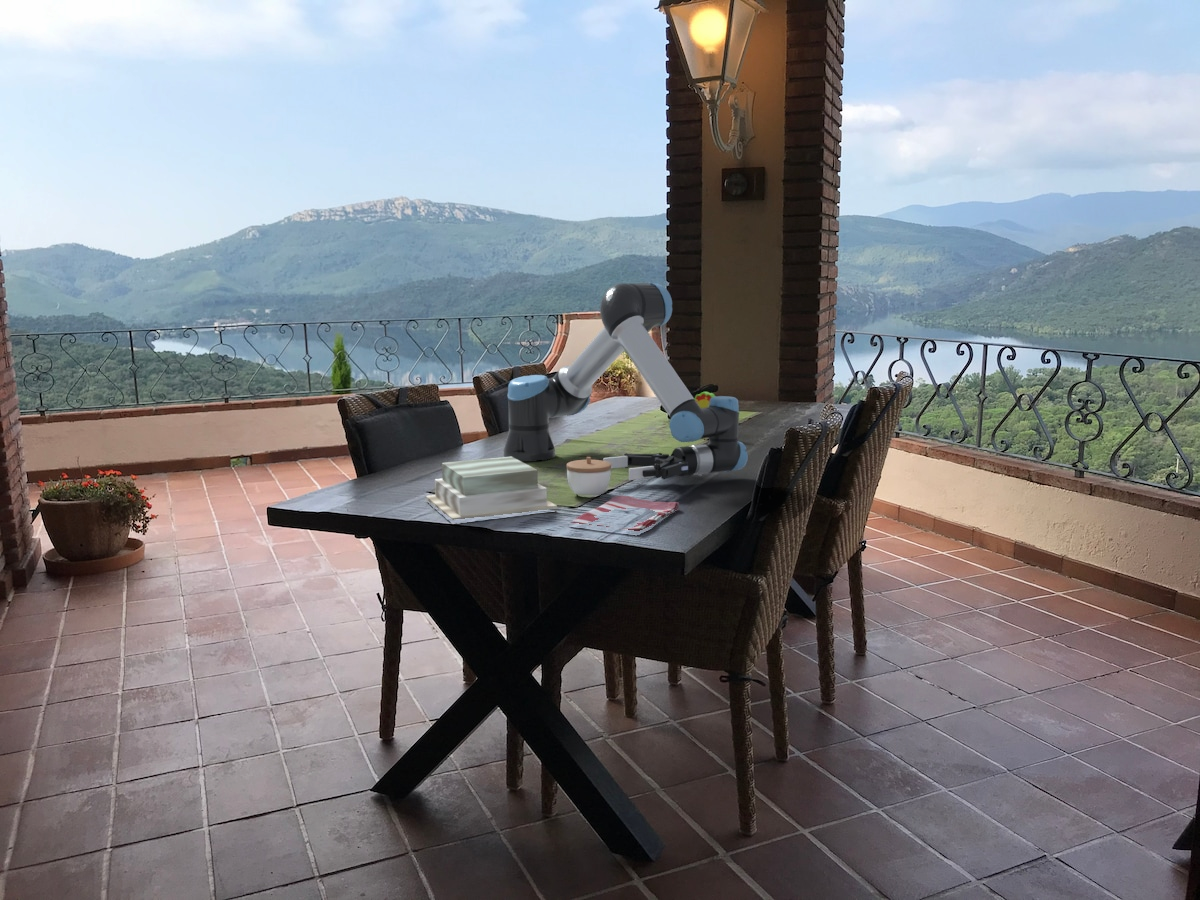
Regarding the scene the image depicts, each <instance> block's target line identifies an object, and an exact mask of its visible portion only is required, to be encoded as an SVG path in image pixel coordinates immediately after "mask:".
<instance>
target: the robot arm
mask: <svg viewBox="0 0 1200 900" xmlns="http://www.w3.org/2000/svg"><path fill="white" fill-rule="evenodd" d="M599 305H600V306H599V312H600V319H601V321H602V324H603V326H604V327H603V328H602V329H601V330H600V331H599V332H598V333H597V334H596V336H595V337H594V338H593V339H592V341H590V342H589V344H588V345H587V346H586V347H585V348H584V349H583V351H582V352H581V353H580V354H579V355H578V356H577V358H576V359H574V360H573V362H572V363H571V364H570V365H564V366H562V367H561V368H560V369H559V370H558V371H557V372H556V373H555V375H554V376H552V377H550V378H548V376H546V375H544V374H543V375H542V374H531V375H523V376H519V377H516V378H513V379H511V380H510V382H509V383H508V387H507V388H508V389H507V395H506V396H507V401H508V403H507V405H508V408H507V409H508V434H507V437H506V440H505V443H504V446H503V452H502V453H503V457H510V456H512V457H513V458H515V459H517V460H519V461H521V462H536V461H535V460H542V461H547V459H548V460H550V459H554V458H556V447H555V444H554V441H553V439H552V435H551V433H550V425H549V424H550V422H549V421H550V419H552V418H558V417H564V416H565V417H566V416H567V417H568V416H574V415H577V414H579V413H582V412H583V411H585V410H586V409H587V408H588V406H589V405H590V402H591V398H590V397H591V396H592V391H593V387H592V386H593V384H594V383H595V382H596V381H598V379H599V378H600V377H601V376H602V375H603V374H604V373H605V372H606V371H607V369H608V368H610V366H611V365H613V363H614V362H615V361H616V360H617V359H618V358H619V357H620V355H621V354H622V353H623V352H624V351H625V353H626V355H627V356H628V357H629V359H630V361H632V363H633V365H634V366H635V368H636V369H637V371H638V372H639V373H640V375H641V376H642V379H644V381H645V382H646V384H647V385H648V387H649V388H650V390H651V392H653V394H654V395H655V397H656V399H657V400H658V401H659V403H660V405H661V406H662V408H663V409H664V411H665V412H666V413H667V414H668V416H669V417H670V420H669V430H670V434H671V436H672V437H673V439H675V440H676V441H678V442H679V443H680V442H681V443H689V442H691V443H694V442H697V441H700V440H704V439H703V438H708V437H709V440H708V443H707V444H697V445H696V444H695V445H686V446H678V447H675V448H674V449H673V450H672V451H671V454H668V453H662V452H658V453H627V452H626V453H624V455H620V456H619V455H618V456H609V457H603V459H602V461H607V462H609V463H611V469H619V468H625V469H628V480H629V481H636V480H644V479H653V478H656V479H659V478H661V479H662V480H666V479H668V478H672V477H675V476H677V477H679V478H680V477H681V478H682V477H691V476H698V477H702V476H703V475H707V474H717V473H725V472H726V473H729V472H733V471H738V470H742V469H743V468H745V466H747V465H746V464H747V462H748V458H749V457H748V455H749V453H748V452H747V447H746V445H745V444H744V443H743V442H741V441H739V423H740V421H739V420H740V419H739V417H740V410H739V409H740V408H739V400H738V398H736V397H734V396H729V395H727V396H725V395H724V396H723V395H719V396H718V395H717V396H716V395H715V396H716V397H712V398H711V399H710V402H709V405H708V406H709V407H706V408H700V406H699V405H698V403H697V402H696V401H695V399H694V398H695V397H694V396H693V395H692V394H691V392H690V390H689V389H688V387H687V386H686V385H685V383H684V382H683V381H682V379H681V378H680V377H679V375H678V373H677V372H676V370H675V369H674V367H673V366H672V365H671V363H670V362H669V361H668V359H667V358H666V356H665V355H664V353H663V351H662V350H661V349H660V347H659V346H658V344H657V343H656V342H655V340H654V339H653V337H652V336H651V334H650V331H652V329H653V328H654V327H657V328H659V327H661V326H664V325H665V324H667V323H668V322H669V320H670V319H671V316H672V313H673V300H672V297H671V294H670V292H669V291H668V289H667V288H666V287H665V286H663V285H661V284H660V283H654V282H650V281H649V282H635V283H633V282H632V283H629V282H628V283H627V282H624V283H623V282H621V283H617V284H614V285H612V286H610V288H608V289H607V291H605V293H604V294H603V297H602V298H601V300H600V304H599ZM629 466H631V467H629ZM632 466H633V467H632Z"/></svg>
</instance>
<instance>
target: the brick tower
mask: <svg viewBox="0 0 1200 900" xmlns="http://www.w3.org/2000/svg"><path fill="white" fill-rule="evenodd" d="M441 470H442V477H441V478H435V479H434V494H431V495H429V494H428V495H425V501H426V500H428V501H429V502H430V503H431V504H433V505H434V506H435V507H437V508H438V509H439V510H440V511H442V512H443V513H444V514H446V515H447V516H448V517H450V518H451V519H452V520H454V519H465V518H474V517H485V516H494V515H503V514H512V513H522V512H529V511H538V510H547V509H557V510H558V505H557V504H556V503H553V502H552V501H550V500H548V499H547V498H548V497H547V496H548V495H547V493H548V491H547V489H548V488H547V487H546V486H544V485H542V484H540V483H539V480H538V479H539V476H538V475H539V474H538V469H536V468H534V467H533V466H531V465H529V464H527V463H525V462H524V461H519V460H517V459H515V458H513V457H512V456H510V457H504V456H502V457H491V458H479V459H469V460H460V461H448V462H447V461H446V462H442V463H441Z"/></svg>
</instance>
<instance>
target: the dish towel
mask: <svg viewBox="0 0 1200 900" xmlns="http://www.w3.org/2000/svg"><path fill="white" fill-rule="evenodd" d="M679 504H680V502H679V501H678V502H677V501H669V502H667V501H653V500H646V499H641V498H637V497H633V496H629V495H615V496H613V497H611V498H610V499H608V501H606V502H605V503H603V504H601V505H599V506H597V507H595V508H592V509H591V510H589V511H587V512H584V513H583V514H581V515H579V516H577V517H576V518H574V520H572V521H570V522H569V523H579V524H589V523H588V522H593V521H595V520H598V519H599V518H595V517H594V516H597V515H599V514H600V513H601V512H609V511H611V510H614V509H616V508H621V509H626V508H646V509H650V510H653V511H655V512H657V513H658V514H657V515H655V516H652V517H650V518H649V519H647V520H646V521H644V522H642V523H637V524H638V525H636V526H634V527H633V528H622V529H628V530H634V531H640V530H643V529H645V528H647V527H649V526H651V525H652V524H655V523H656V522H658V521H659V520H660V519H662V518H664V517H666V516H668V515H670V514H671V513H673V512H674V511H675V510H677V509H679V510H680V507H679ZM670 516H671V515H670ZM589 525H592V524H589ZM597 526H604V525H597ZM606 527H610V526H606Z"/></svg>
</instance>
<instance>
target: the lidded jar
mask: <svg viewBox="0 0 1200 900" xmlns="http://www.w3.org/2000/svg"><path fill="white" fill-rule="evenodd" d="M611 470H612V468H611V463H609V462H607V461H603V459H602V460H599V459H592V457H591V456H586V459H579V460H578V459H576V460H573V461H572V460H571V461H569V462H567V463H566V477H567V482H568V485H569V488H570V490H571V491H572V492H573V493H574V494H575V495H576V494H578V495H600V494H602V495H603V494H604V493H605V492H606V490H607V489H608V487H609V486H610V480H611V475H612V473H611Z"/></svg>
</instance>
